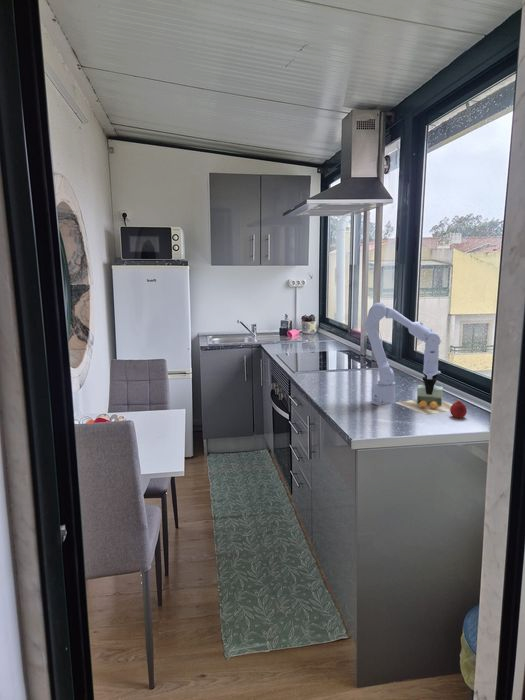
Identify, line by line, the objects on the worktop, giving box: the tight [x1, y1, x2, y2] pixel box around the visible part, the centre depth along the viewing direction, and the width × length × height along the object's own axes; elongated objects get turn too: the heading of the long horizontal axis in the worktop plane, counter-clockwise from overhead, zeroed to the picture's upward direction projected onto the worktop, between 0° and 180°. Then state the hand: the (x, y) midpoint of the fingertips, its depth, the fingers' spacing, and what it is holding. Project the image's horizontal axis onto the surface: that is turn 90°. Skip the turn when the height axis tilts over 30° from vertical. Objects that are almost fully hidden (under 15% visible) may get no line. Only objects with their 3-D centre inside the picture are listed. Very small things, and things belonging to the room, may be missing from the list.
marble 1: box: [420, 401, 427, 408], centre depth 188 cm, size 3×3×3 cm
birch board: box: [395, 398, 454, 416], centre depth 192 cm, size 20×19×1 cm
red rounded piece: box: [449, 399, 467, 419], centre depth 175 cm, size 6×6×8 cm
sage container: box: [416, 384, 444, 406], centre depth 194 cm, size 10×6×7 cm, turn 68°
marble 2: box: [430, 401, 437, 409], centre depth 187 cm, size 3×3×3 cm
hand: (429, 392), depth 194 cm, fingers open, 7 cm apart
